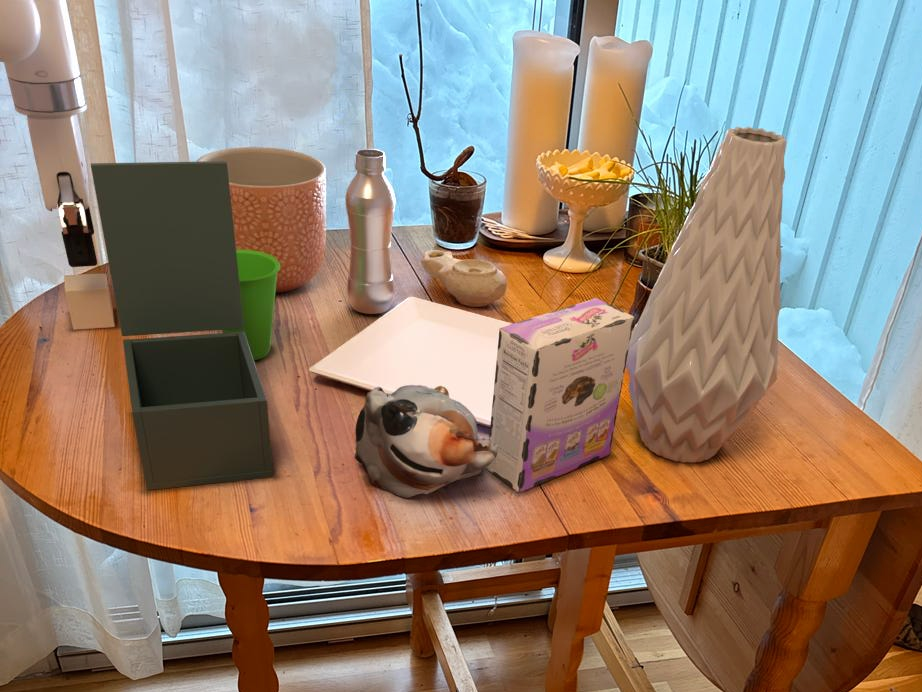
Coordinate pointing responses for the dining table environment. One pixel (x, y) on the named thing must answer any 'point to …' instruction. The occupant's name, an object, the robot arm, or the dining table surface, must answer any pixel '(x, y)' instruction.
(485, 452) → the lucky cat figurine
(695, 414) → the vase
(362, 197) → the silver metal bottle
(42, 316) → the dining table surface
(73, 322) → the block
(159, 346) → the chest
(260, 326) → the cup
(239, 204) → the planter
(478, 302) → the oil lamp
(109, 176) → the lid
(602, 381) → the candy box
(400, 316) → the plate
